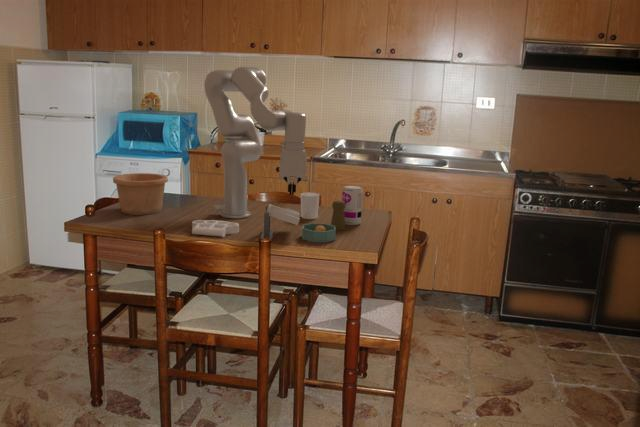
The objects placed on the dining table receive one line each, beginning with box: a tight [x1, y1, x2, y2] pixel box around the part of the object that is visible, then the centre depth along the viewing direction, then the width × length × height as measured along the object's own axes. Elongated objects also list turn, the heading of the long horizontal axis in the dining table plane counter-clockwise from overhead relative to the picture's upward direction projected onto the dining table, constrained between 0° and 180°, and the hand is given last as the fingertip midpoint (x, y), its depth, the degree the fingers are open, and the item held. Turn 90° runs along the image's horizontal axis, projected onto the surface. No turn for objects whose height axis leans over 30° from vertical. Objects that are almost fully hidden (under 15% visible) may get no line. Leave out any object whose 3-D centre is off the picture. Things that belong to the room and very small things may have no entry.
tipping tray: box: [267, 203, 301, 226], centre depth 219 cm, size 12×18×2 cm, turn 2°
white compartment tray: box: [191, 219, 240, 238], centre depth 219 cm, size 3×18×15 cm
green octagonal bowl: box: [301, 222, 337, 243], centre depth 216 cm, size 12×12×4 cm
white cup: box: [300, 192, 320, 220], centre depth 246 cm, size 8×8×10 cm
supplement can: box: [341, 185, 364, 226], centre depth 239 cm, size 8×8×15 cm
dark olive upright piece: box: [330, 200, 346, 231], centre depth 230 cm, size 6×6×11 cm
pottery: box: [112, 172, 169, 216], centre depth 247 cm, size 22×22×14 cm
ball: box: [315, 226, 326, 231], centre depth 216 cm, size 4×4×4 cm
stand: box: [259, 206, 274, 242], centre depth 215 cm, size 4×14×10 cm, turn 2°
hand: (291, 194), depth 224 cm, fingers closed
